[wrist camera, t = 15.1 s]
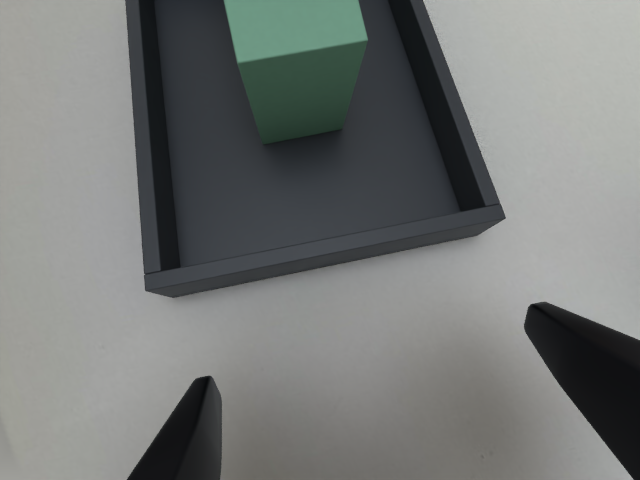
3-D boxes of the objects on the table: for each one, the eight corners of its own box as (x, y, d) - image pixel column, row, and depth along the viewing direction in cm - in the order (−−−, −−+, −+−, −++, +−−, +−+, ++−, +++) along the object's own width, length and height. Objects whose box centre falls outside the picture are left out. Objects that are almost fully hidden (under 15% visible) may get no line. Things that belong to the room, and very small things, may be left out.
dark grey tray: (477, 235, 19) (506, 218, 16) (172, 298, 18) (144, 291, 15) (381, -39, 25) (390, -87, 22) (145, -5, 24) (121, -52, 21)
